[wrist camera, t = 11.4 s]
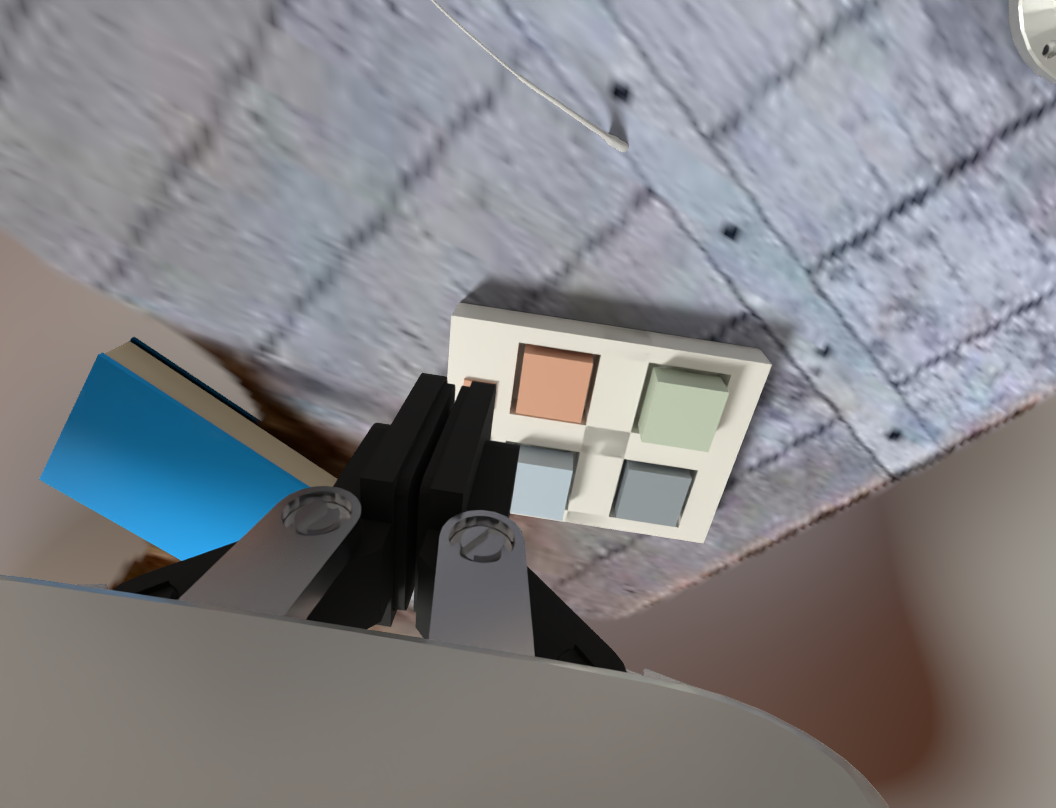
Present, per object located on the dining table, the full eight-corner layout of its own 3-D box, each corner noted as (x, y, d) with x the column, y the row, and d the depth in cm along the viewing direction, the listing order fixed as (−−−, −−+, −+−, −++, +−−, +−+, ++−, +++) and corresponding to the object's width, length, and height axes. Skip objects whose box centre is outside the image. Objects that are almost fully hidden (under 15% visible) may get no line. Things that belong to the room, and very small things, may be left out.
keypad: (759, 348, 41) (773, 366, 38) (696, 520, 49) (704, 545, 46) (459, 302, 41) (450, 316, 38) (446, 481, 49) (438, 504, 46)
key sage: (720, 377, 40) (729, 392, 38) (701, 434, 42) (708, 452, 40) (653, 366, 40) (657, 381, 38) (637, 424, 42) (641, 441, 40)
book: (95, 352, 42) (366, 528, 48) (135, 333, 46) (382, 498, 52) (35, 484, 49) (278, 623, 55) (75, 458, 53) (298, 591, 59)
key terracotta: (592, 350, 41) (593, 363, 39) (580, 407, 43) (580, 422, 41) (526, 340, 41) (524, 352, 39) (518, 397, 43) (515, 412, 41)
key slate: (686, 461, 45) (691, 479, 43) (670, 507, 47) (675, 527, 45) (626, 452, 45) (629, 469, 43) (614, 499, 47) (616, 517, 45)
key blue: (572, 452, 44) (572, 471, 42) (562, 501, 46) (562, 520, 44) (511, 443, 44) (508, 461, 42) (505, 492, 46) (501, 511, 44)
